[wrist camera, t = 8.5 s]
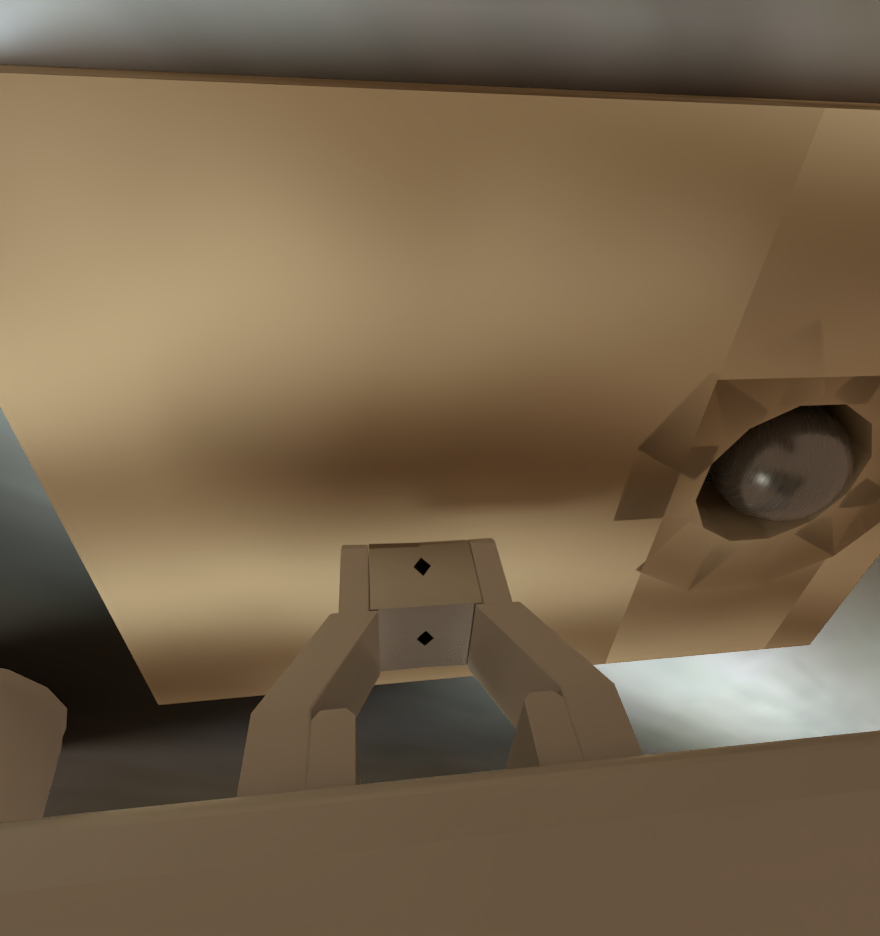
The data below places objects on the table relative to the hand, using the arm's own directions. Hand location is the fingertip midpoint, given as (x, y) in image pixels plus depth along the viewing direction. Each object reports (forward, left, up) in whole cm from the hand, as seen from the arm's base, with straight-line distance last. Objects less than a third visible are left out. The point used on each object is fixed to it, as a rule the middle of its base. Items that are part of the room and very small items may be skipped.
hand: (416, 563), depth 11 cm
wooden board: (0, -3, -4) cm, 5 cm away
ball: (0, -10, -3) cm, 10 cm away
